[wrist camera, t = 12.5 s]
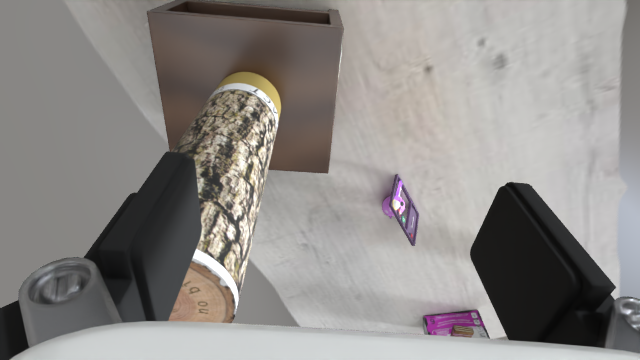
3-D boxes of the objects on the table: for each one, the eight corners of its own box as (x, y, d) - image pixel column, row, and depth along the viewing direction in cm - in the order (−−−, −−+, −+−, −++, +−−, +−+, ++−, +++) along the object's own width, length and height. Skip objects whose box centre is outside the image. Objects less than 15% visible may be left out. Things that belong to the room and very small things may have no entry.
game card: (419, 245, 55) (396, 203, 50) (387, 249, 57) (362, 209, 53) (423, 213, 59) (402, 172, 55) (393, 218, 62) (371, 179, 58)
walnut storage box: (184, -4, 42) (146, 11, 33) (338, 9, 43) (344, 28, 34) (198, 123, 51) (171, 163, 42) (326, 132, 52) (328, 173, 42)
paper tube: (228, 137, 40) (129, 352, 19) (205, 76, 36) (51, 259, 15) (288, 125, 39) (255, 336, 18) (271, 63, 36) (205, 235, 15)
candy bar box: (478, 308, 73) (515, 392, 59) (476, 323, 76) (511, 407, 62) (421, 314, 74) (445, 399, 60) (422, 329, 77) (445, 413, 63)
